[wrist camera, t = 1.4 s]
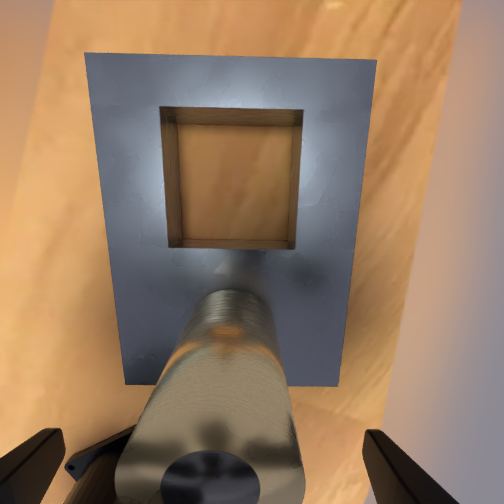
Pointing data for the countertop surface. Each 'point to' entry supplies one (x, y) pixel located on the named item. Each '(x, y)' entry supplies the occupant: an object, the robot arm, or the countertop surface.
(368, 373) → the countertop surface
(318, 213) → the jig
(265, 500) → the bushing
